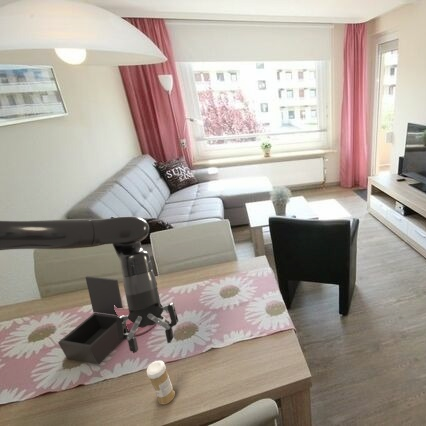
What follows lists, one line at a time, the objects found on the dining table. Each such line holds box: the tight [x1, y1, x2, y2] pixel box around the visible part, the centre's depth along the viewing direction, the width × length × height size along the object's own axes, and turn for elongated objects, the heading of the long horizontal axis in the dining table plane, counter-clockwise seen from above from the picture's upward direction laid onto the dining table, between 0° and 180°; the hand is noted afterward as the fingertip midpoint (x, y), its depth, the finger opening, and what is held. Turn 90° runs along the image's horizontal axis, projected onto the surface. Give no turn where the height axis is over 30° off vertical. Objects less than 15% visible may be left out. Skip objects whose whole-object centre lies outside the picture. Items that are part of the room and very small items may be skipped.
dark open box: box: [57, 312, 130, 365], centre depth 105 cm, size 14×13×8 cm
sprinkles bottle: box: [146, 360, 176, 405], centre depth 85 cm, size 5×5×14 cm
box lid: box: [85, 275, 124, 316], centre depth 107 cm, size 14×13×1 cm
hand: (153, 346), depth 81 cm, fingers open, 8 cm apart
